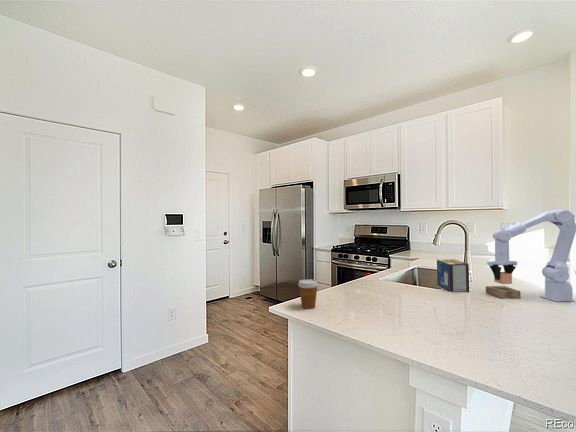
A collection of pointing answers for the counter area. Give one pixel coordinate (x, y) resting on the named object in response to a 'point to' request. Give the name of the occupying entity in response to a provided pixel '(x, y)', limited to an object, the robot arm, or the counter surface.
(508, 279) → the terracotta block
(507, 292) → the walnut base
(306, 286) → the disposable coffee cup
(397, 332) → the counter surface
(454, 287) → the protein box
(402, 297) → the counter surface
